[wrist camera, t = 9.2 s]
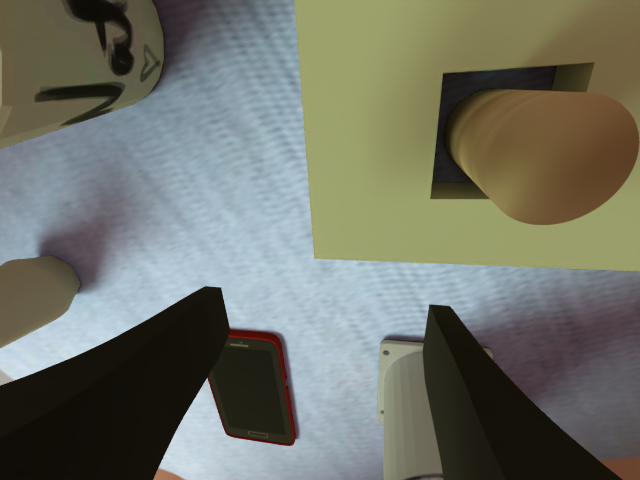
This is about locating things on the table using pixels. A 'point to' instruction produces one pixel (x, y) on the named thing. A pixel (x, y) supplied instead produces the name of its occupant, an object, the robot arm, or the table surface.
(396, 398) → the robot arm
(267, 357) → the cell phone
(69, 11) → the mug
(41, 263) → the salt shaker
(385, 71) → the hole board
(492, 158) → the tall peg
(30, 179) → the table surface
